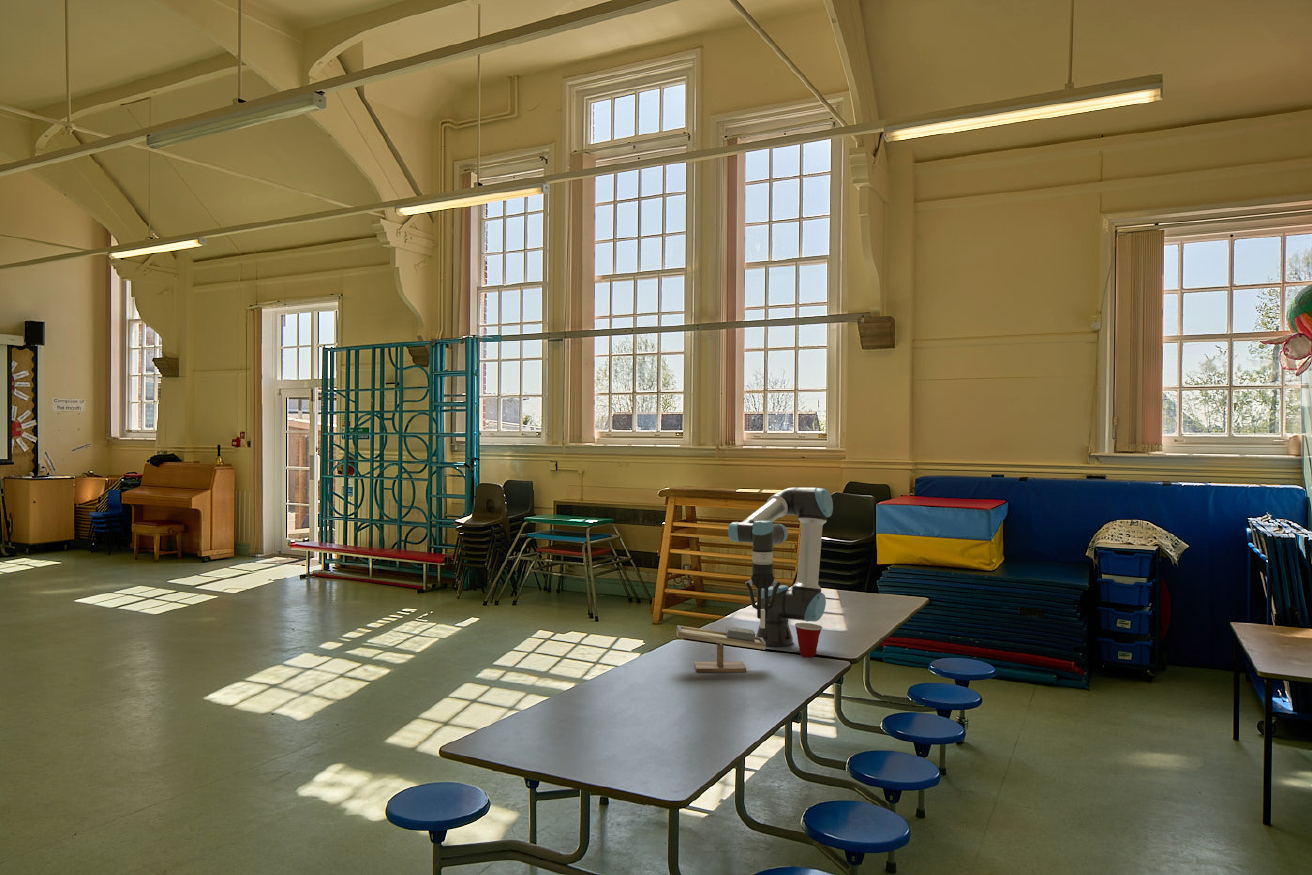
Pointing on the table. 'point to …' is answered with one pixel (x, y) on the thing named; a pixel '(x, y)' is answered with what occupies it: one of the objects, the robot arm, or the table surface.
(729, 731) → the table surface
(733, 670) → the seesaw stand
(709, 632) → the seesaw beam
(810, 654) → the plastic cup
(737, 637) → the iron block
